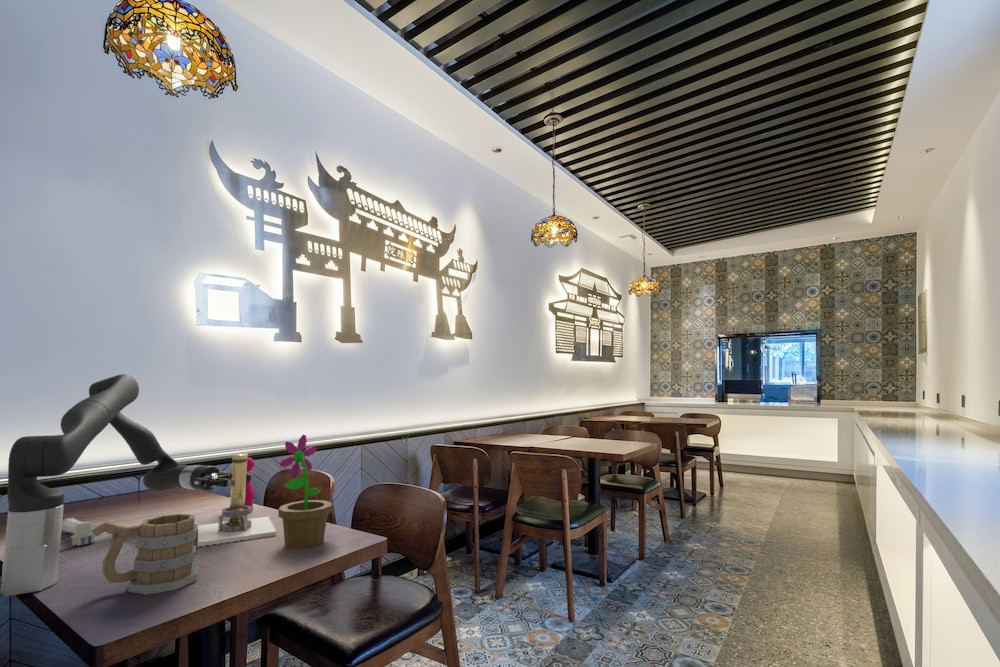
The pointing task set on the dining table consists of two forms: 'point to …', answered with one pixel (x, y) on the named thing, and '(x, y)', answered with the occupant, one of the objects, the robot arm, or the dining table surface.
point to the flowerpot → (303, 503)
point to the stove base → (235, 528)
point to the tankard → (154, 553)
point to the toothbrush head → (78, 531)
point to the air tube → (238, 487)
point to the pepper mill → (249, 484)
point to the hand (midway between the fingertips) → (238, 480)
